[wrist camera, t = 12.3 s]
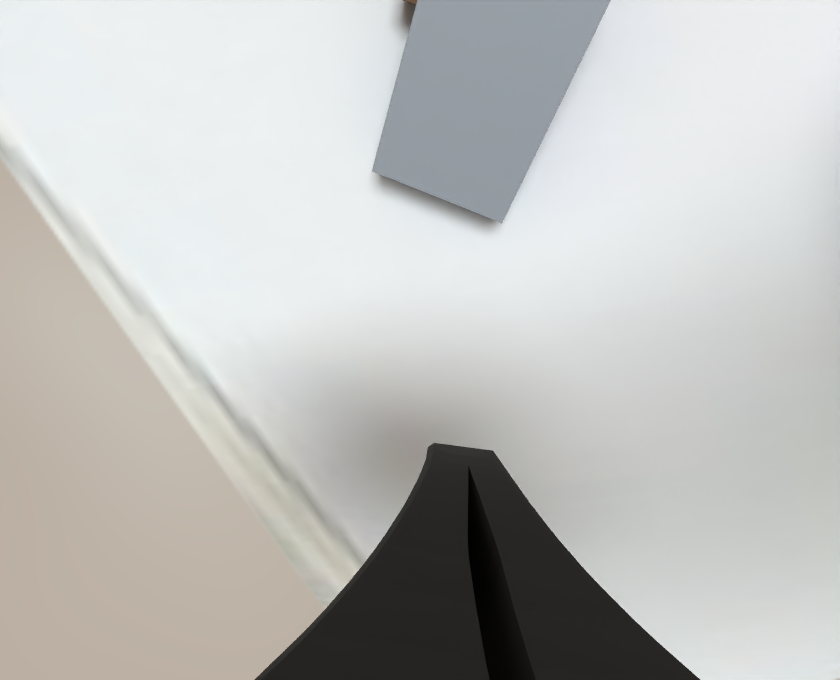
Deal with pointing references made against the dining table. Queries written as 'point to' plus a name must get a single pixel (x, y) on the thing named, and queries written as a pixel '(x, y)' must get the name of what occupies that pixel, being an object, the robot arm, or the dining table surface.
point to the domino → (481, 95)
